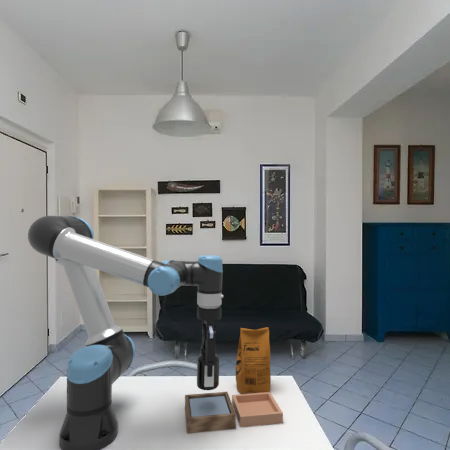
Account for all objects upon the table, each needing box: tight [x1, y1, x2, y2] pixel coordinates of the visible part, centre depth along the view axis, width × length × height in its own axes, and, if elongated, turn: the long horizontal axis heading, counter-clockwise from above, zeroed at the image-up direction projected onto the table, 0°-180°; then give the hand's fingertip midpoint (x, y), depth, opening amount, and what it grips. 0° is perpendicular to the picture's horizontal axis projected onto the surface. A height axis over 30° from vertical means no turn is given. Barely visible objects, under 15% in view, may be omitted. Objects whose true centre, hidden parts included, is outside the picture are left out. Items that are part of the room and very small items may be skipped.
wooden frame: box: [184, 391, 237, 434], centre depth 103 cm, size 14×14×4 cm
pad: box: [189, 396, 230, 417], centre depth 103 cm, size 11×11×1 cm
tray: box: [231, 391, 284, 428], centre depth 106 cm, size 13×13×3 cm
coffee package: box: [235, 327, 272, 394], centre depth 122 cm, size 10×12×22 cm
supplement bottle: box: [196, 344, 220, 391], centre depth 103 cm, size 7×7×12 cm
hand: (207, 380), depth 103 cm, fingers closed on supplement bottle, 7 cm apart
